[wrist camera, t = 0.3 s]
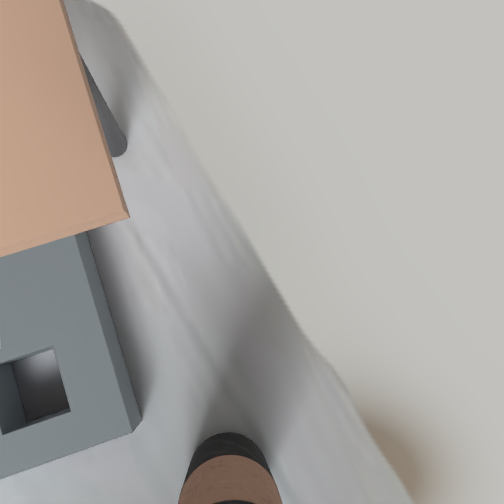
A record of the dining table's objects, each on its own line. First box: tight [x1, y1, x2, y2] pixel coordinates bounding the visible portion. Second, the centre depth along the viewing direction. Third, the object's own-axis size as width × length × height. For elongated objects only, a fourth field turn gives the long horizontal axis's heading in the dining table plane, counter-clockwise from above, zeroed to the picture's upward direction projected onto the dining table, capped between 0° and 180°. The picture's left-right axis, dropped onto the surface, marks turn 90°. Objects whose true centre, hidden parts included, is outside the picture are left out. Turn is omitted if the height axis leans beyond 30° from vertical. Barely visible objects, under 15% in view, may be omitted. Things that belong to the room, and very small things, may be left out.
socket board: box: [0, 231, 142, 479], centre depth 42 cm, size 20×14×5 cm
